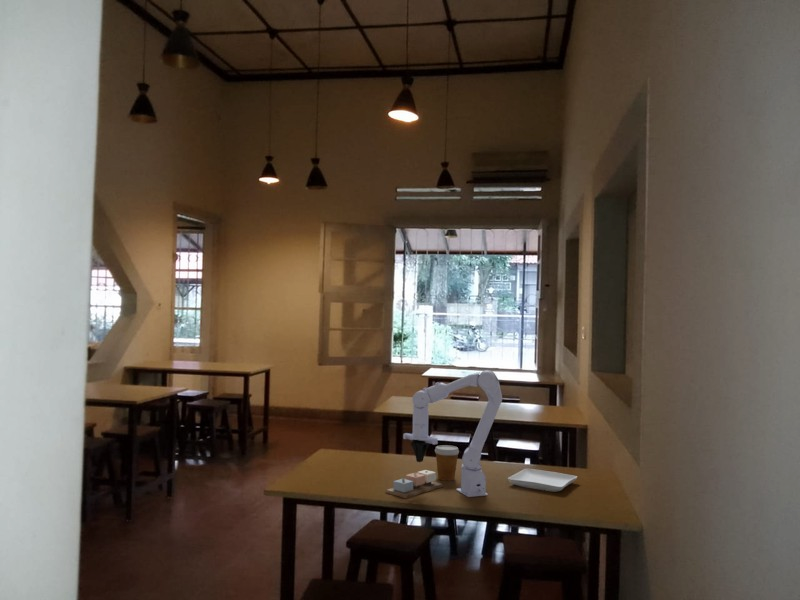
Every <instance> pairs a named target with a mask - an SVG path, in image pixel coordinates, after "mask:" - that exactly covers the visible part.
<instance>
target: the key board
mask: <svg viewBox="0 0 800 600" xmlns="http://www.w3.org/2000/svg"><path fill="white" fill-rule="evenodd" d="M442 487H443V483H440V482H437V481H432V482H429V483H426V482H425V484H422V485H418V486H413V490H411V491H407V492H400V491H397V490H393V487H390V488H388V489H386V491H385V493H387V494H390V495H394V496H398V497H401V498H405V499H406V498H410V497H414V496H417V495H420V494H423V493H427V492H429V491H430V492H431V491H433V490H436V489H440V488H442Z"/></svg>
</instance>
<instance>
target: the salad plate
mask: <svg viewBox="0 0 800 600" xmlns="http://www.w3.org/2000/svg"><path fill="white" fill-rule="evenodd" d="M577 478H578V476H577V475H572V474H566V473H561V472H557V471H556V472H555V471H549V470H543V469H534V468H523V469H522V470H520V471H518V472H516V473H515V474H513V475H510V476H509V477H507V480H508V482H510V483H511V484H513V485H515V486H518V487H523V488H527V489H533V490H534V489H535V490H539V491H540V490H541V491H544V490H545V492H553V493H556V492H560V491H562V490H563V489H565V487H567V486H569V485H570V484H572V483H573V482H575V481H576V480H577Z"/></svg>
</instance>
